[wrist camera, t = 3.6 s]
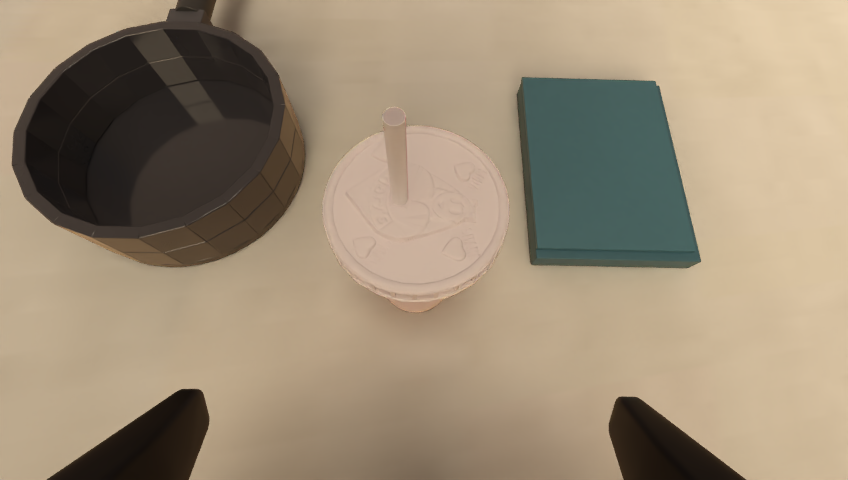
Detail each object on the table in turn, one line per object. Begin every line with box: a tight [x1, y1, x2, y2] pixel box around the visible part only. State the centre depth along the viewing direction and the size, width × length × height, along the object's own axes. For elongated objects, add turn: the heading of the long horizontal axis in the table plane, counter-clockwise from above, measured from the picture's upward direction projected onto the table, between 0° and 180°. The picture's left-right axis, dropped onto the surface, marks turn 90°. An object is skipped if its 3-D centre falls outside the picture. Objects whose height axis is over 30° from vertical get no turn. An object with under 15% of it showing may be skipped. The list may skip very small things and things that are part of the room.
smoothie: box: [322, 107, 510, 313], centre depth 16 cm, size 6×6×14 cm
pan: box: [12, 21, 305, 267], centre depth 23 cm, size 13×13×4 cm
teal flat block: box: [517, 77, 701, 268], centre depth 25 cm, size 12×9×2 cm
